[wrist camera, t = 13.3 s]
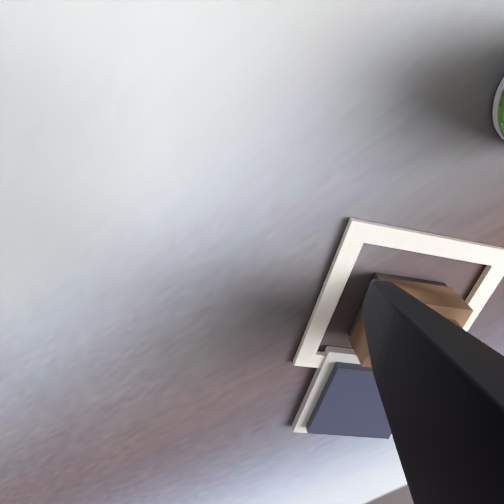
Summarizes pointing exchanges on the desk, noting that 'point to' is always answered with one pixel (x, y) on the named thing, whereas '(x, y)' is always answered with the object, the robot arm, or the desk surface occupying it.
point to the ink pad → (342, 399)
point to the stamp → (423, 290)
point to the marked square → (400, 238)
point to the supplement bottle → (499, 109)
